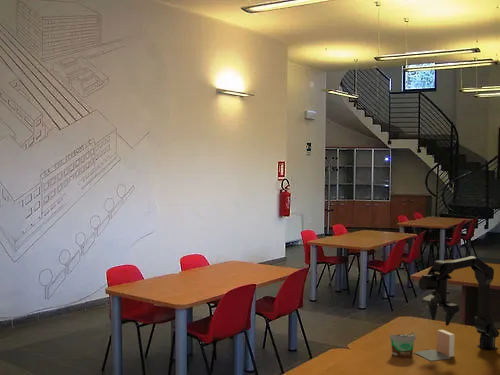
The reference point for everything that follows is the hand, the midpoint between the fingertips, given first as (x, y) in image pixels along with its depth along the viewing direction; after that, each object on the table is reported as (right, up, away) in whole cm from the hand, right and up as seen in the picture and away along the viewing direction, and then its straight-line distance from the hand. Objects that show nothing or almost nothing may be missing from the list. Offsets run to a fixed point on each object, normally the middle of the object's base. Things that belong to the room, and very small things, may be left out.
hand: (440, 322), depth 249 cm
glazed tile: (+3, -15, +2) cm, 15 cm away
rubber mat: (-4, -15, -1) cm, 15 cm away
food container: (-17, -15, -3) cm, 23 cm away
